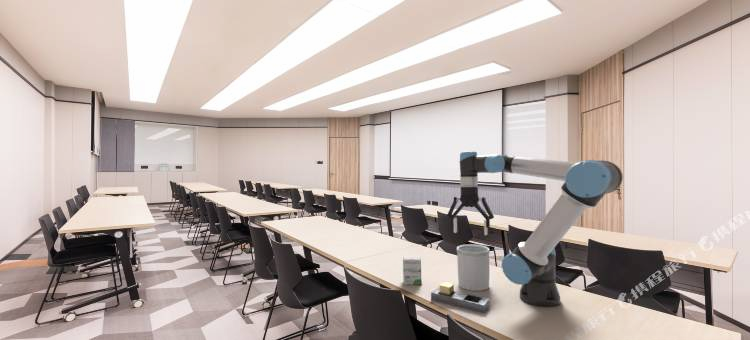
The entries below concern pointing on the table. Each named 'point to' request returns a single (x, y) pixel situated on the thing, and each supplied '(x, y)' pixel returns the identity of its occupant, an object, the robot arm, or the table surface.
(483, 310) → the grey slotted tray
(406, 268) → the ink box
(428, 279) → the table surface
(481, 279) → the utensil holder
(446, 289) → the block
